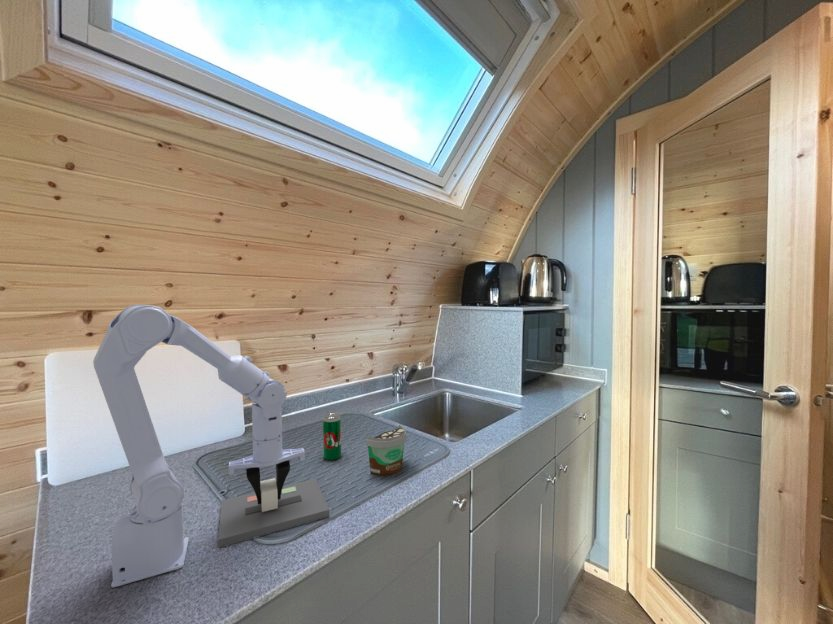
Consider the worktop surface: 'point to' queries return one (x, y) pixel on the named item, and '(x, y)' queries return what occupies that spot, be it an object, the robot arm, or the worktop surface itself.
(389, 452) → the food container
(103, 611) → the worktop surface
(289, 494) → the switch panel
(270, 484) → the breaker knob
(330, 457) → the soda can
